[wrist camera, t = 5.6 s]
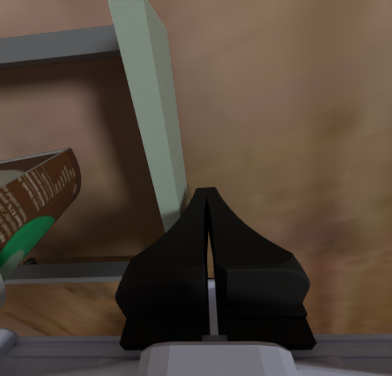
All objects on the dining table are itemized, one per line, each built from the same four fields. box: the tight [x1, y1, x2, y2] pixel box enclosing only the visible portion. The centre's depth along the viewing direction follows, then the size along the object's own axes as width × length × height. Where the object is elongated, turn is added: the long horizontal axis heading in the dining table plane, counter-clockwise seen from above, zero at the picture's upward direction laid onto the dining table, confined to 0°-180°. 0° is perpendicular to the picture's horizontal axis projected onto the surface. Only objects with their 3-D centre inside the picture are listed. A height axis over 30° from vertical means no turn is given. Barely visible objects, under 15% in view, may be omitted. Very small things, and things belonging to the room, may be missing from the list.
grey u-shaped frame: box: [0, 0, 189, 284], centre depth 12 cm, size 18×19×5 cm
